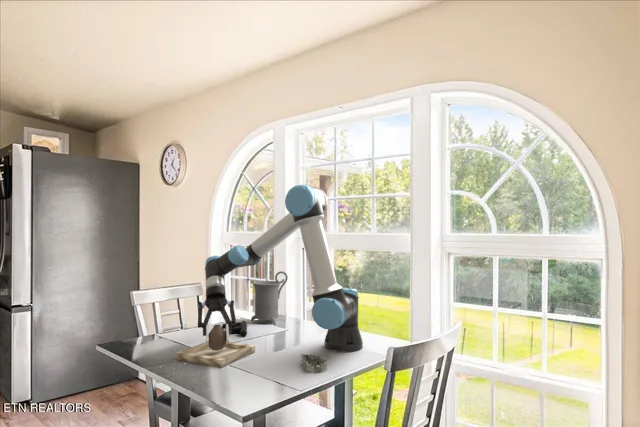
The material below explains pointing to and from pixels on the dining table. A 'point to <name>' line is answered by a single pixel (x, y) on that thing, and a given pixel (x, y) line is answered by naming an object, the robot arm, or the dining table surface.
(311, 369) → the egg carton
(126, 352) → the dining table surface
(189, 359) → the tray
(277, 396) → the dining table surface
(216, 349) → the vase
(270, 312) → the mug
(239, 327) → the door handle
